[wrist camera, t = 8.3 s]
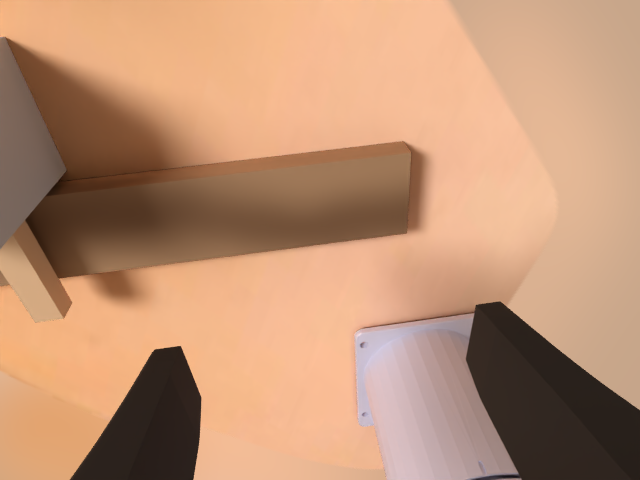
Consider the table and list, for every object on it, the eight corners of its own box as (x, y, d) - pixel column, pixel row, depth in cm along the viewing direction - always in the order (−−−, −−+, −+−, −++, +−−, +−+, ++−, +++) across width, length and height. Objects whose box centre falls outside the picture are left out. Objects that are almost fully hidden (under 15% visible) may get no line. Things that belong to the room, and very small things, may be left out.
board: (400, 219, 21) (407, 234, 20) (-72, 279, 19) (-90, 298, 18) (403, 141, 18) (411, 153, 17) (-132, 204, 17) (-157, 221, 16)
